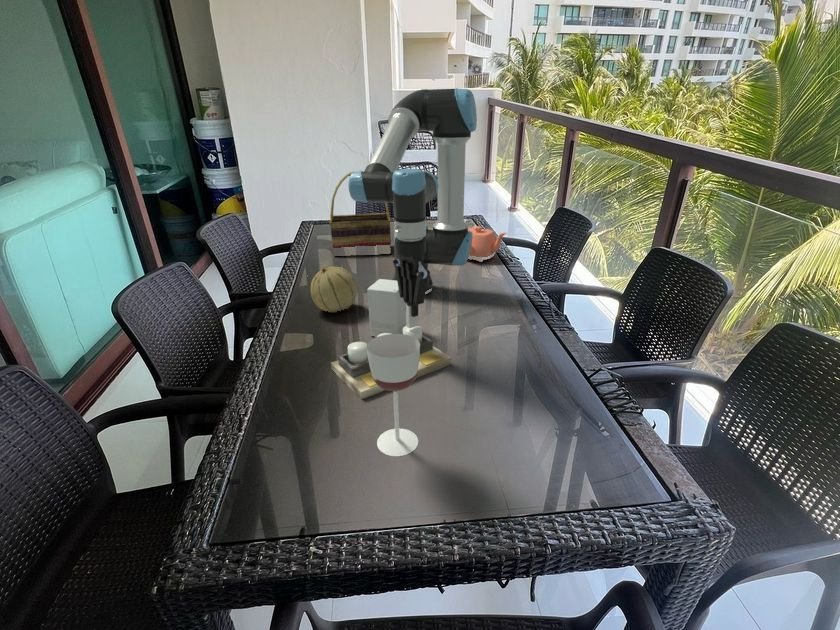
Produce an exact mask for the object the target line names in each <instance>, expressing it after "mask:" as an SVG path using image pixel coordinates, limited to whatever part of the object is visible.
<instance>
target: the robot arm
mask: <svg viewBox="0 0 840 630" xmlns="http://www.w3.org/2000/svg"><path fill="white" fill-rule="evenodd" d="M477 117H478V115H477V105H476V100H475V97H474V94H473V92H472V90H470V89H467V88H457V87H456V88H435V89H434V88H433V89H430V88H429V89H427V88H421V89H419V90H415V91H413V92H411V93H409V94H407V95H406V96H404V97H403V98H402V99H401V100H399V101H398V103H396V105H395V106H394V107H393V108H392V110H391V111H390V114H389V115H388V120H387V123H388V125H387V127H386V129H385V131H384V133H383V135H382V136H381V138H380V140H379V143H378V144H377V146H376V148H375V150H374V152H373V154H372V156H371V158H370V159H369V161H368V163H367V166H366V167H365V168H364V171H362V170H359V172H355V171H352V172H353V173H352V174H351V175H350V176H349V178H348V192H349V195H350V197H351V199H352V200H353V201H356V202H363V203H380V204H381V203H383V204H385V203H387V204H393V207H392V208H393V221H394V222H393V224H394V226H393V230H394V232H393V235H394V236H393V251H394V252H393V255H394V259H393V261H392V263H393V265H394V272H393V274H392V279H391V280H395V281H397V282H398V288H399V294H400V297H401V298H404V302H405V311H406V326H407V327H408V328H412V327H415V326H419V305H422V304H424V303H425V298H426V295H425V292H426V291H427V290H429V289H431V288H432V286H433V287H434V282H433V280H432V277H431V272H430V270H429V267H428V266H429V265H430V264H431V265H440V266H441V265H443V266H451V267H455V266H457V267H459V266H464V265H466V264H467V262H468V261H469V260H468V257H469V254H470V250H471V245H472V238H473V237H472V235H473V233H472V232H470V231H468V229H469V224H467V223H466V222H465V218H464V215H465V213H464V210H465V181H466V180H465V177H466V175H465V174H466V173H465V172H466V147H467V145H466V144H467V142H468V141H469V140H470V139H471V138H472V137H471V136H472V133H473V132H475V131H476V129H477V121H478V118H477ZM419 132H432V139H433V140H434V141H435V142H436V143H437V177H436V175H435V174H433V173H432V172H430V171H428V170H427V171H426V170H423V169H419V168H401V169H399V166H400V164H401V161H402V160H403V157H404V156H405V154H406V151H407V148H408V146H409V144H410V142H411V139H412V138H414V137H415V136H417V134H418V133H419ZM436 195H437V220H436V221H435V222H434V223H433V224H432V229H430V228H429V226H428V224H427V221H426V220H427V219H426V214H427V213H426V206H427V204H428V203H429V202H431V201H433V200H434V198H435V196H436ZM467 260H468V261H467Z"/></svg>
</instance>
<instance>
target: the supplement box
mask: <svg viewBox="0 0 840 630" xmlns="http://www.w3.org/2000/svg"><path fill="white" fill-rule="evenodd" d="M366 292H367V303H368V305H367V306H368V314H369V329H370V337H371V336H378V335H379V334H382V333H392V334H403V328H404V327H405V326H406V311H405V302H404V298H401V297H400V294H399V288H398V282H397V281H395V280H392V279H383V278H379V279H377V280H376V281H375V282H374V283H373V284H372V285H370V286H369V287H368V288H367V289H366Z"/></svg>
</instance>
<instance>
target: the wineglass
mask: <svg viewBox="0 0 840 630" xmlns="http://www.w3.org/2000/svg"><path fill="white" fill-rule="evenodd" d="M367 354H368V360H369V366H370V370H371V373H372V376H373V379H374V381H375V383H376V384H377V385H378V386H379V387H381V388H382V389H385V390H384V391H389V392H393V414H394V418H393V419H394V428H391V429H388V430H385V431H384V432H382V433H381V434H380V435H379V437H378V438H377V441H376V445H377V448H378V450H379V451H380V452H381V453H383V454H385V455H387V456H390V457H401V456H406V455H408V454H410V453H413V451H414V450H416V448H417V447H418V445H419V438H418V436H417V434H415V433H414V432H413V431H411V430H409V429H406V428H400V422H399V421H400V417H399V416H400V415H399V393H398V392H399V391H403V390H406V389H407V388H409V387H411V386H412V385H413V383H414V382H415V381H416V379H417V378H416V375H417V370H418V365H419V356H420V343H419V341H418V340H417V339H416V338H414V337H412V336H409V335H404V334H388V335H382V336H379V337H373V338H372V339H371V340H370V341H368V343H367Z"/></svg>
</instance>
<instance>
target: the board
mask: <svg viewBox="0 0 840 630" xmlns="http://www.w3.org/2000/svg"><path fill="white" fill-rule="evenodd" d="M433 343H434V341H433V340H432V339H430V338H429V337H427V336H426V335H424V334H422V342H421V343H420V356H419V365H418V370H417V375H416V378H415V379H417V378H420V377H422V376H425V375H429V374H430V373H433V372H436V371H437V370H441V369H443V368H445V367H448V366H450V365H451V364H452V358H451V356H449V355H447V354H446V353H445V352H443V351H442V350H440V349H438V348H437V347H435V346H434V344H433ZM330 368H331V369H332V370H333V371H334V372H335V373H336V374H335V373H334V372H333V371H332V372H333V373H334V374H335V375H336V376H337V377H338V378H339V379H340V380H341V381H342V382H343V383H344V384H345V385H347V387H348V388H349V389H350V390H351V391H352V392H353V393H354V394H355V395H356V396H357V397H358V398H360V400H363V399H366V398H369V397H372V396H375V395H376V394H379V393H382V392H384V391H386V390H385V389H382V388H381V387H379V386H378V385H377V384H376V383H375V381H374V379H373V376H372V373H371V370H370V366H369V360H368V361H367V362H366V363H363V364H352V363H350V362H349V358H348V352H347V353H344V354H340V355H338V356H337V360H335V361H332V362H330Z"/></svg>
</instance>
